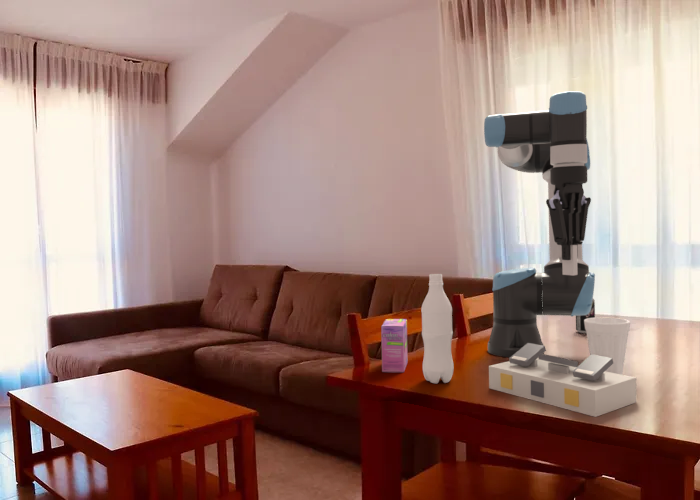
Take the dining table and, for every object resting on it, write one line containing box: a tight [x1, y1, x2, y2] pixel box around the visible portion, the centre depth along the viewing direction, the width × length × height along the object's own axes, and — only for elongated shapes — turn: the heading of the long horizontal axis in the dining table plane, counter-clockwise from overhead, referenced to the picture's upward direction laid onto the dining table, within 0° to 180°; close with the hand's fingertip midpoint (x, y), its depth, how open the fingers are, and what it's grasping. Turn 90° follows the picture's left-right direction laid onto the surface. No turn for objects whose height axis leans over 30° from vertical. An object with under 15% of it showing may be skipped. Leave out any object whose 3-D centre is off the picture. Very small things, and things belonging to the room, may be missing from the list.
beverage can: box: [575, 298, 596, 334], centre depth 195 cm, size 6×6×12 cm
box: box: [380, 318, 409, 373], centre depth 156 cm, size 10×6×12 cm, turn 170°
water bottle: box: [420, 273, 455, 384], centre depth 141 cm, size 7×7×25 cm
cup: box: [584, 316, 631, 375], centre depth 141 cm, size 10×10×13 cm
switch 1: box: [508, 343, 547, 367], centre depth 134 cm, size 7×5×1 cm, turn 125°
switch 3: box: [572, 354, 613, 381], centre depth 121 cm, size 7×5×1 cm, turn 125°
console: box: [488, 357, 637, 418], centre depth 128 cm, size 14×26×6 cm, turn 35°
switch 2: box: [538, 353, 579, 367], centre depth 128 cm, size 7×5×1 cm, turn 125°
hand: (570, 274), depth 132 cm, fingers closed
